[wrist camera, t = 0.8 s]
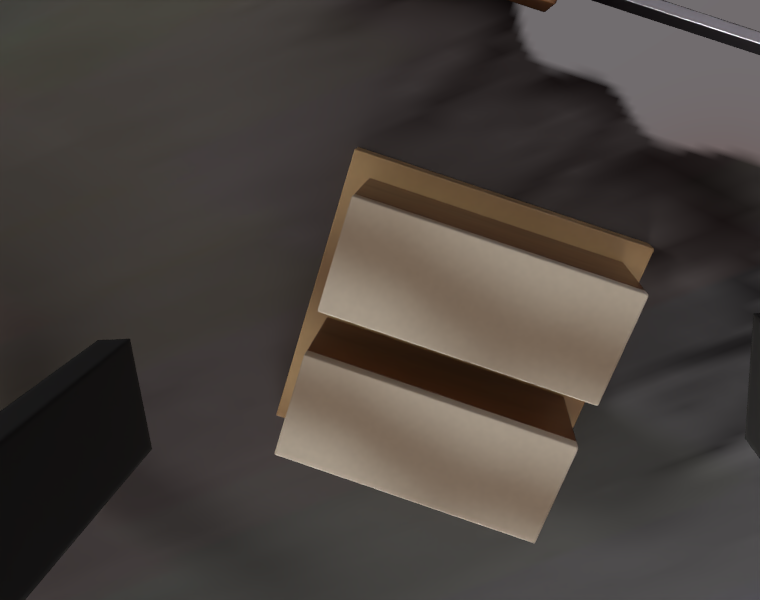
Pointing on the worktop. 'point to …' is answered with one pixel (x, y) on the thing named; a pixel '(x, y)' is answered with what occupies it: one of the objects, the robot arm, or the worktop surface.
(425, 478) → the cake
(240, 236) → the worktop surface
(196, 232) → the worktop surface
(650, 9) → the knife
